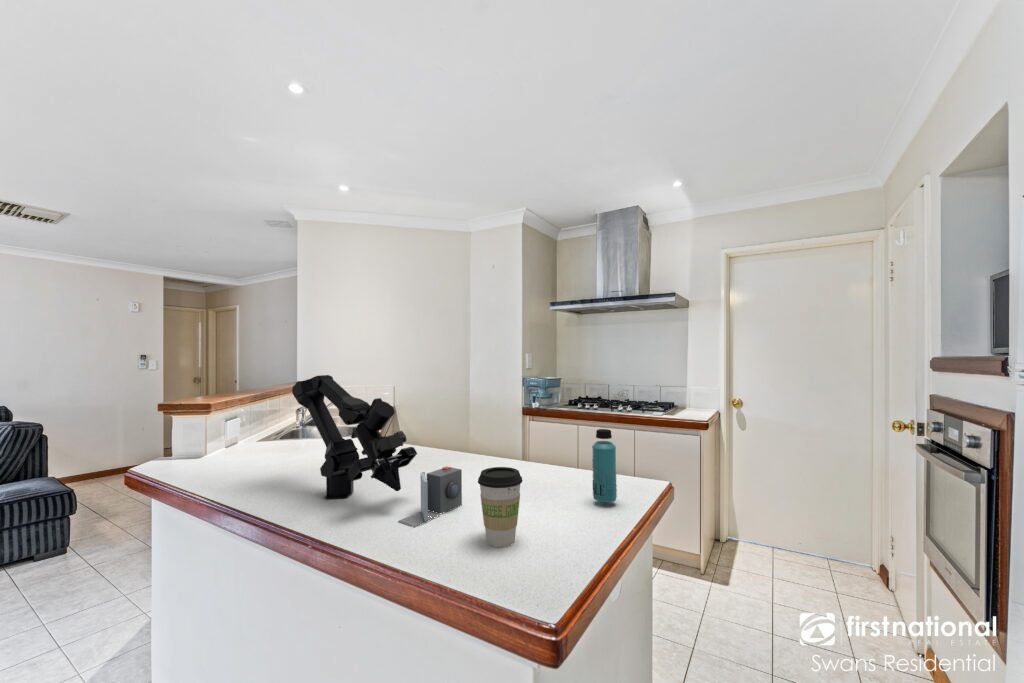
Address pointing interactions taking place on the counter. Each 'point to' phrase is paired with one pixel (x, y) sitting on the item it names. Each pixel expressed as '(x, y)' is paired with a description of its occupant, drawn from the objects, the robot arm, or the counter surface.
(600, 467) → the beverage bottle
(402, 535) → the counter surface
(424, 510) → the side door
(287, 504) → the counter surface
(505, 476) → the coffee cup
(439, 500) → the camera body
